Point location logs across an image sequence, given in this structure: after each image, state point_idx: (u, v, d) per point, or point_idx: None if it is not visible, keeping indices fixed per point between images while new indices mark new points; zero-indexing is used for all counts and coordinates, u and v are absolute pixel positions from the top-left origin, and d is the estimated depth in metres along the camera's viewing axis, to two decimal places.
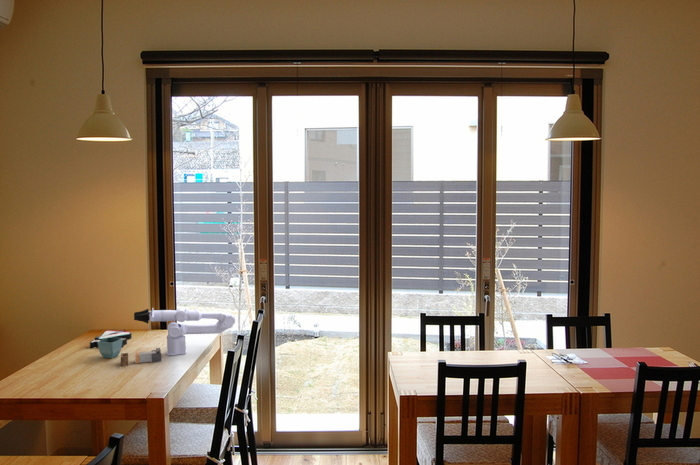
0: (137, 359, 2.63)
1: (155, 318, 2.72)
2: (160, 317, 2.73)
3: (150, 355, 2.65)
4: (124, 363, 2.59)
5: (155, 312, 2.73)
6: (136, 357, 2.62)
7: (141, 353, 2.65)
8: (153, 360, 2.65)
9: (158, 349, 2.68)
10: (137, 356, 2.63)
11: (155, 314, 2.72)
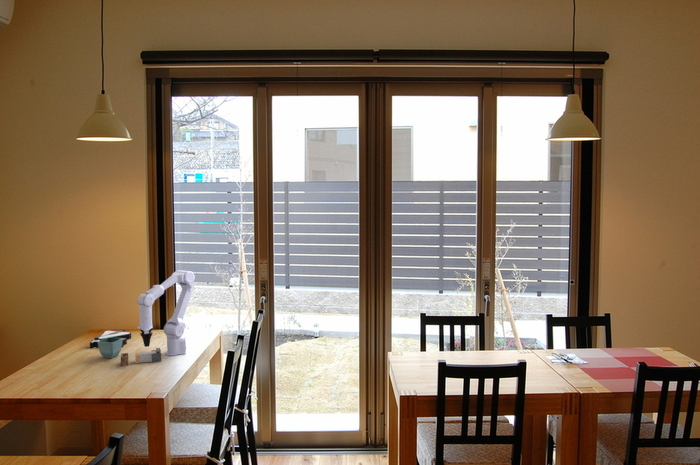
0: (137, 359, 2.63)
1: (148, 325, 2.63)
2: (146, 320, 2.62)
3: (150, 355, 2.65)
4: (124, 363, 2.59)
5: (141, 325, 2.63)
6: (136, 357, 2.62)
7: (141, 353, 2.65)
8: (153, 360, 2.65)
9: (158, 349, 2.68)
10: (137, 356, 2.63)
11: (143, 325, 2.62)
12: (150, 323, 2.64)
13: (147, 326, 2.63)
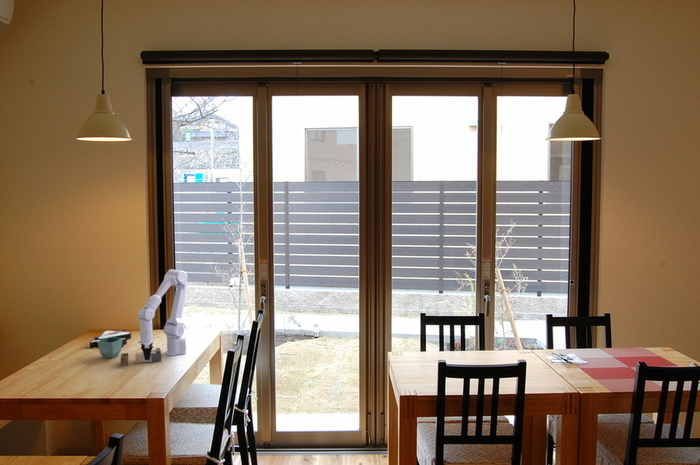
0: (137, 359, 2.63)
1: (148, 339, 2.63)
2: (147, 335, 2.63)
3: (150, 355, 2.65)
4: (124, 363, 2.59)
5: (142, 340, 2.63)
6: (136, 357, 2.62)
7: (141, 353, 2.65)
8: (153, 360, 2.65)
9: (158, 349, 2.68)
10: (137, 356, 2.63)
11: (144, 340, 2.63)
12: (150, 337, 2.64)
13: (147, 340, 2.63)
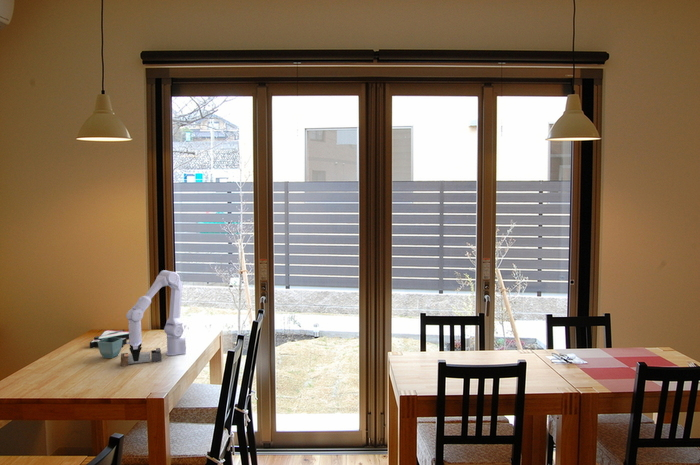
0: None
1: (137, 340, 2.61)
2: (135, 336, 2.61)
3: (139, 356, 2.63)
4: (124, 363, 2.59)
5: (130, 341, 2.61)
6: None
7: (130, 354, 2.63)
8: (153, 360, 2.65)
9: (158, 349, 2.68)
10: None
11: (132, 341, 2.61)
12: (139, 338, 2.62)
13: (136, 341, 2.61)
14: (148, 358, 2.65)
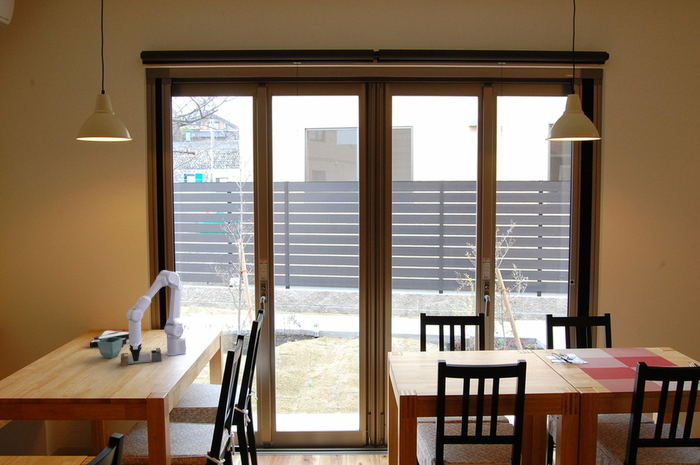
0: None
1: (137, 340, 2.61)
2: (135, 336, 2.61)
3: (139, 356, 2.63)
4: (124, 363, 2.59)
5: (130, 341, 2.61)
6: None
7: (130, 354, 2.63)
8: (153, 360, 2.65)
9: (158, 349, 2.68)
10: None
11: (132, 341, 2.61)
12: (139, 338, 2.62)
13: (136, 341, 2.61)
14: (148, 358, 2.65)
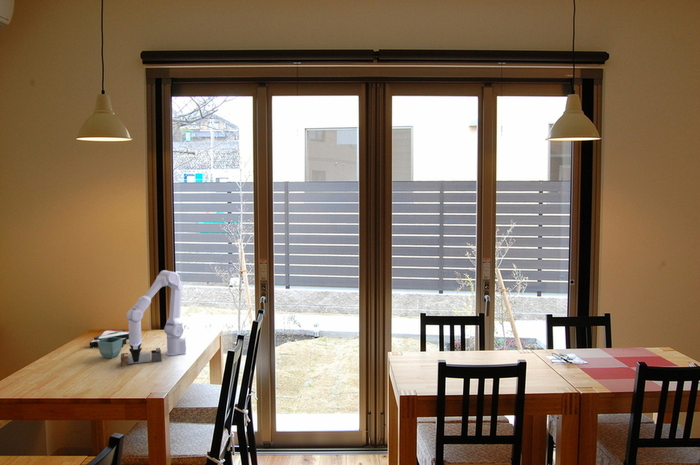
0: None
1: (137, 340, 2.61)
2: (135, 336, 2.61)
3: (139, 356, 2.63)
4: (124, 363, 2.59)
5: (130, 341, 2.61)
6: None
7: (130, 354, 2.63)
8: (153, 360, 2.65)
9: (158, 349, 2.68)
10: None
11: (132, 341, 2.61)
12: (139, 338, 2.62)
13: (136, 341, 2.61)
14: (148, 358, 2.65)
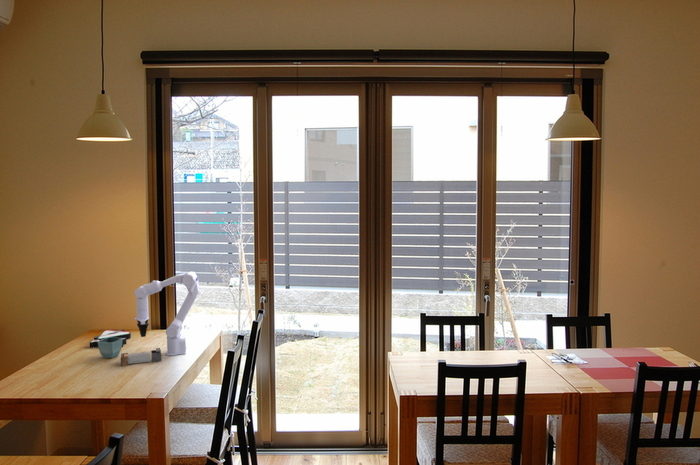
0: None
1: (144, 316, 2.74)
2: (143, 312, 2.74)
3: (139, 356, 2.63)
4: (124, 363, 2.59)
5: (138, 316, 2.74)
6: None
7: (130, 354, 2.63)
8: (153, 360, 2.65)
9: (158, 349, 2.68)
10: None
11: (140, 317, 2.74)
12: (146, 314, 2.75)
13: (143, 317, 2.74)
14: (148, 358, 2.65)
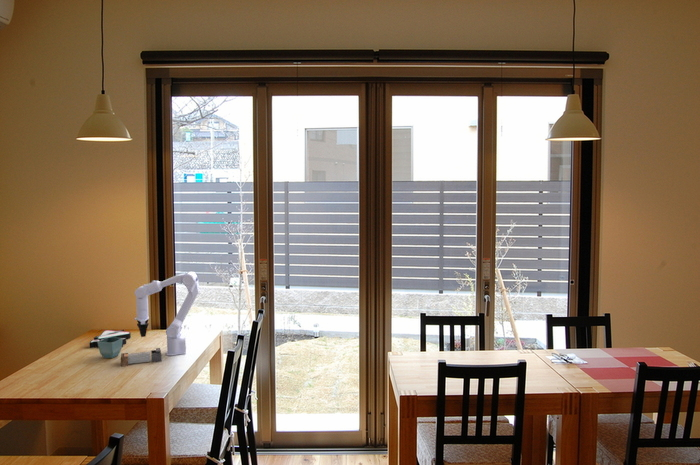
0: None
1: (144, 316, 2.74)
2: (143, 312, 2.74)
3: (139, 356, 2.63)
4: (124, 363, 2.59)
5: (138, 316, 2.74)
6: None
7: (130, 354, 2.63)
8: (153, 360, 2.65)
9: (158, 349, 2.68)
10: None
11: (140, 317, 2.74)
12: (146, 314, 2.75)
13: (143, 317, 2.74)
14: (148, 358, 2.65)
